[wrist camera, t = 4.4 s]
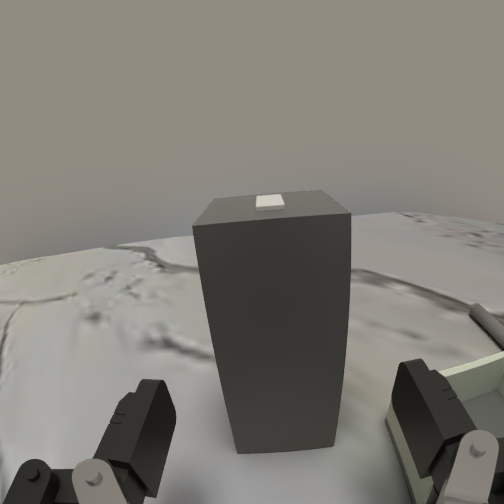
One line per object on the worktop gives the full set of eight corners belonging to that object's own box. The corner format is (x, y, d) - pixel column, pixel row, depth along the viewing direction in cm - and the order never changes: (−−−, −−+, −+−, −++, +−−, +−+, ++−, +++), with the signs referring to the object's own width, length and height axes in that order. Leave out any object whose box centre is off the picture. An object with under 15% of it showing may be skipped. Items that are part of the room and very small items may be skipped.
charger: (242, 391, 18) (213, 195, 14) (321, 385, 18) (321, 186, 14) (237, 453, 14) (191, 221, 10) (333, 446, 13) (350, 208, 9)
